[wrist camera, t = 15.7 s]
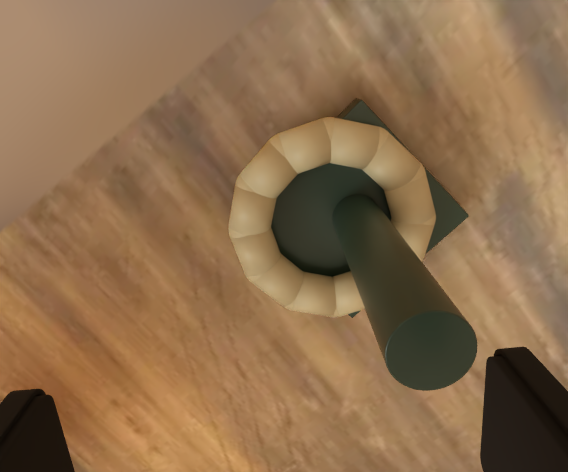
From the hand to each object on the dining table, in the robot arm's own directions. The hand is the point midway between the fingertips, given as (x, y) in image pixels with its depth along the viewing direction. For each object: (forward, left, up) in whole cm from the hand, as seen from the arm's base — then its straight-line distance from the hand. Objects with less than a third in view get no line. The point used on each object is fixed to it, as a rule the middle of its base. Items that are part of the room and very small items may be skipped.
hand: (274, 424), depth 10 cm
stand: (+3, +3, -16) cm, 16 cm away
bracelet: (+2, +2, -13) cm, 13 cm away
